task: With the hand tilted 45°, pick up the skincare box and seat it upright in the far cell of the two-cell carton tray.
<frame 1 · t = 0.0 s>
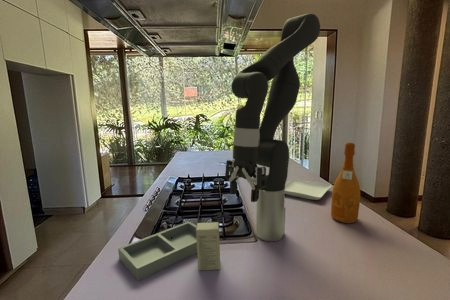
hand: (243, 197, 78), 17 cm above the worktop, tool pointing down, fingers open, 8 cm apart
carton tray: (167, 251, 81), on the worktop
wine bottle: (343, 219, 102), on the worktop
skincare box: (208, 266, 74), on the worktop
salad plate: (304, 193, 131), on the worktop
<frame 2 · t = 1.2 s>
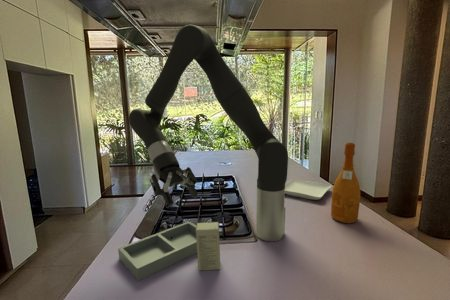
hand: (183, 201, 79), 16 cm above the worktop, tool tilted 45°, fingers open, 8 cm apart
nothing on the worktop moved.
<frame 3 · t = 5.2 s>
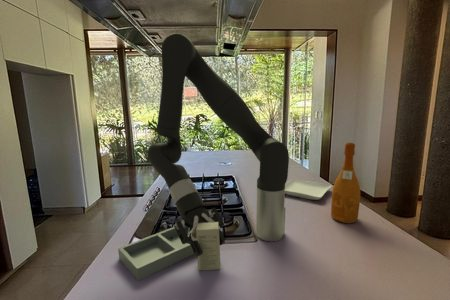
hand: (211, 249, 72), 6 cm above the worktop, tool tilted 45°, fingers closed on skincare box, 7 cm apart
skincare box: (208, 266, 74), on the worktop, touching gripper
everything else where it was.
when the fingers open (8 cm above the worktop, at t = 12.4 s): skincare box drops 1 cm, resting on carton tray.
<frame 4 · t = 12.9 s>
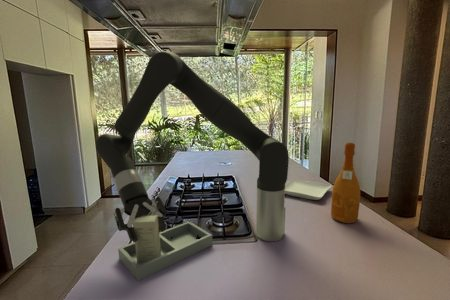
hand: (150, 235, 74), 8 cm above the worktop, tool tilted 45°, fingers open, 8 cm apart
skincare box: (148, 257, 77), point 1 cm above the worktop, touching carton tray
everything else where it was.
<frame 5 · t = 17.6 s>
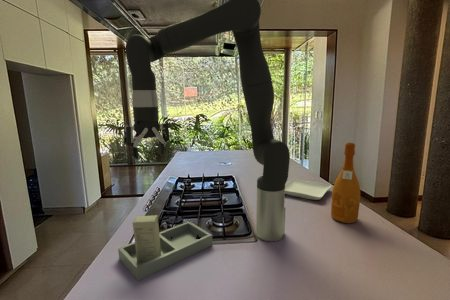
hand: (148, 156, 84), 28 cm above the worktop, tool pointing down, fingers open, 8 cm apart
nothing on the worktop moved.
at the end: skincare box inside the target area on the carton tray (0.3 cm from its centre), point 0.6 cm above the carton tray's base; skincare box tilted 0°; the gripper is holding nothing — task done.
